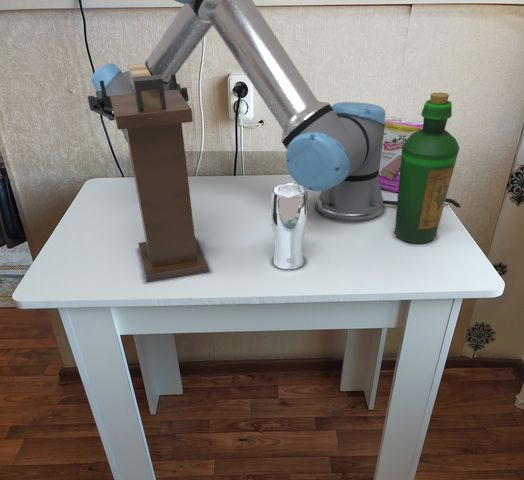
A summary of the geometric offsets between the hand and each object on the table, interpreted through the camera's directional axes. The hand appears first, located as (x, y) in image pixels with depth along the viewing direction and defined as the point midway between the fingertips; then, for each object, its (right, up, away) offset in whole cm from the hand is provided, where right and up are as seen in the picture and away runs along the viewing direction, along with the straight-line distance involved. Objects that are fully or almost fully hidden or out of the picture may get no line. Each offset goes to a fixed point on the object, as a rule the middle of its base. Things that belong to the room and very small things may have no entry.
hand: (139, 84), depth 99 cm
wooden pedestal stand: (+5, -32, +7) cm, 34 cm away
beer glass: (+29, -33, +5) cm, 44 cm away
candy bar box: (+57, -10, +33) cm, 67 cm away
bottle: (+57, -26, +13) cm, 64 cm away
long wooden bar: (+3, -6, -8) cm, 10 cm away
